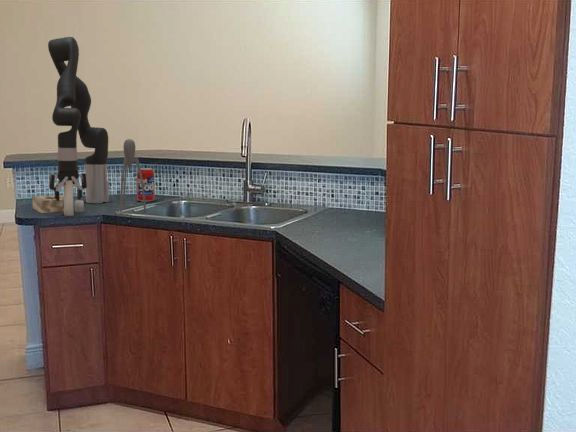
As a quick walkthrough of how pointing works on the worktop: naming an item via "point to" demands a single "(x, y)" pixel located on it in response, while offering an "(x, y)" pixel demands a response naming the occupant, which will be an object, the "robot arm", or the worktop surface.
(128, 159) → the citrus juicer
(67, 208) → the tall ivory dowel
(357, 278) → the worktop surface
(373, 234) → the worktop surface
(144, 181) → the soda can
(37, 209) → the birch socket block
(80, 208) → the short grey dowel
